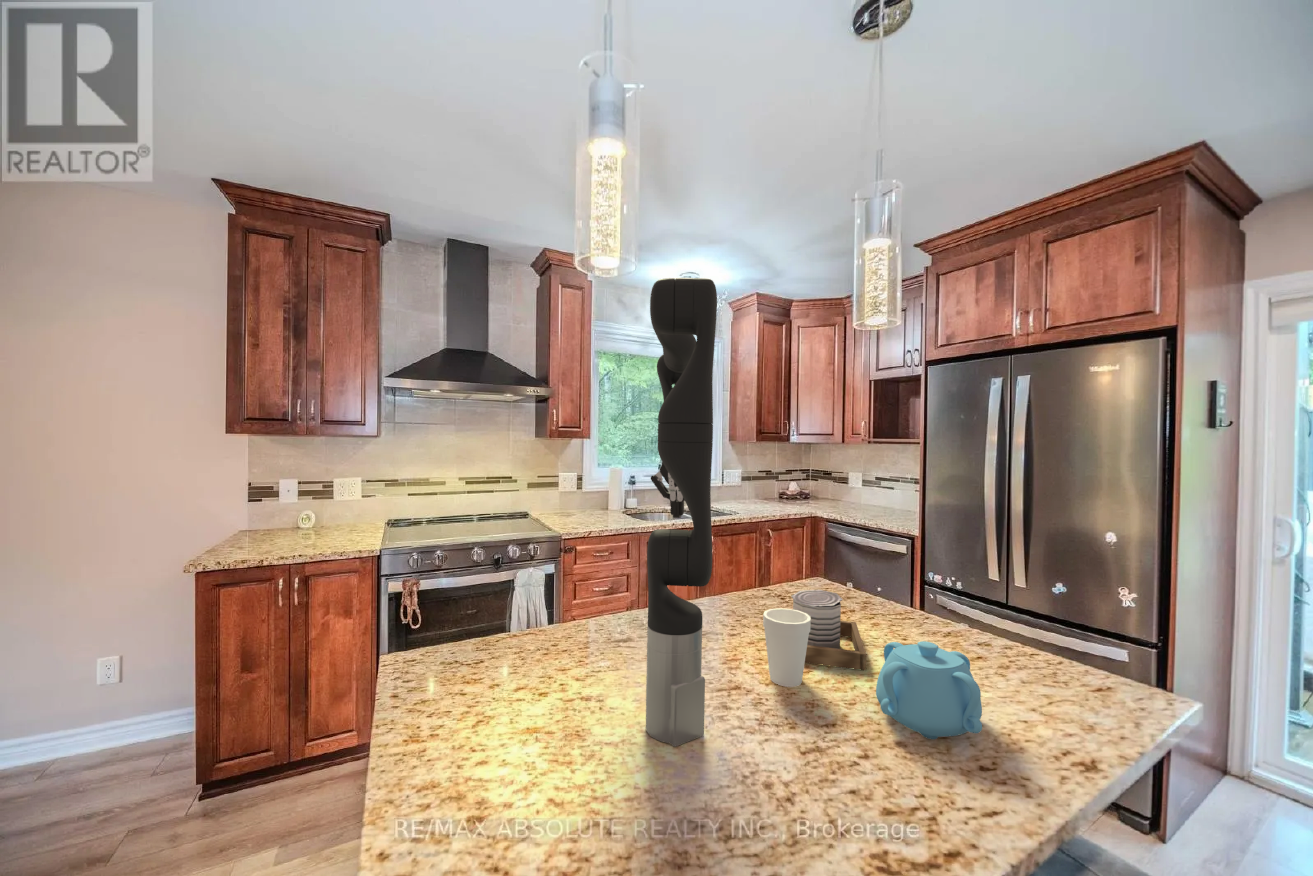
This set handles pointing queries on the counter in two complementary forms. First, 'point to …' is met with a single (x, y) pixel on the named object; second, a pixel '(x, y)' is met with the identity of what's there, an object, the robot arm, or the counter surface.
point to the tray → (840, 651)
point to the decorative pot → (929, 690)
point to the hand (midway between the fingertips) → (677, 517)
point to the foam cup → (786, 644)
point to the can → (821, 616)
